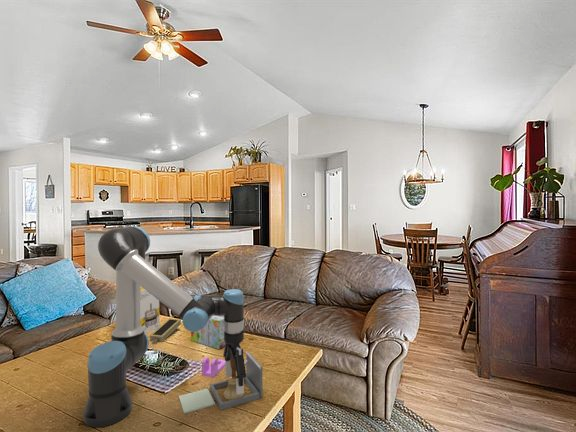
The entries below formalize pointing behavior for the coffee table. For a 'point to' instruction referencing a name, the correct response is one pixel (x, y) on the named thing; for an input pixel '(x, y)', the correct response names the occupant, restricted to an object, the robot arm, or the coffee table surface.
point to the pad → (196, 400)
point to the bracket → (212, 367)
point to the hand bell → (232, 384)
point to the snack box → (211, 333)
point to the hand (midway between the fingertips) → (234, 384)
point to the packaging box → (149, 311)
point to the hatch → (252, 381)
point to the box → (165, 330)
